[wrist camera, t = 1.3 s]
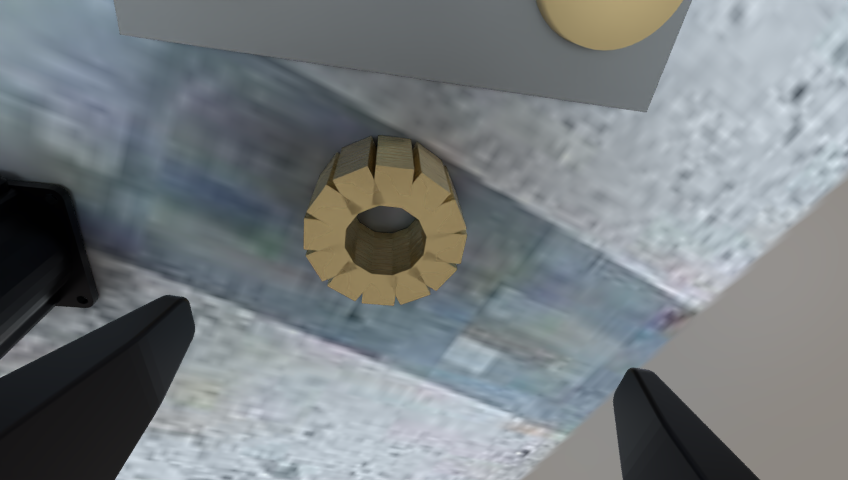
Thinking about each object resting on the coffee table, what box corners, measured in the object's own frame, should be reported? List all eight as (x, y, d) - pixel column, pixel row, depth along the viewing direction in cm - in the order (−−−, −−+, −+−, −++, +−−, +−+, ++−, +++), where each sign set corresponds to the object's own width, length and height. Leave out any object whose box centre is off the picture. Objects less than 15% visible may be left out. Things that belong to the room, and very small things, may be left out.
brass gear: (442, 265, 23) (449, 310, 20) (315, 254, 22) (302, 298, 19) (466, 146, 19) (480, 177, 16) (319, 127, 18) (305, 156, 16)
